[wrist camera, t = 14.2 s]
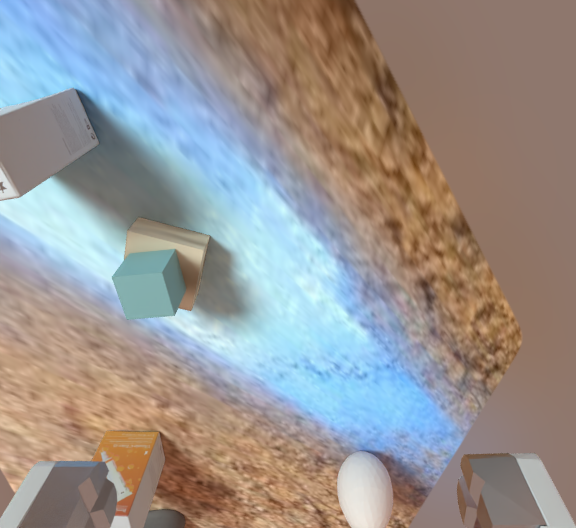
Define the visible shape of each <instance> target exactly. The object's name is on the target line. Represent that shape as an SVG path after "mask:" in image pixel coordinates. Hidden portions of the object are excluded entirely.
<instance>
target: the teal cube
mask: <svg viewBox="0 0 576 528" xmlns="http://www.w3.org/2000/svg"><path fill="white" fill-rule="evenodd" d="M112 279H113V282H114V285H115V288H116V291H117V293H118V296H119V299H120V302H121V305H122V307H123V310H124V313H125V316H126V319H127V320H129V319H141V318H153V317H165V316H175V314H176V312H177V310H178V307H179V305H180V303H181V301H182V298H183V296H184V294H185V292H186V286H185V282H184V278H183V275H182V271H181V267H180V264H179V260H178V256H177V253H176V249H169V250H158V251H148V252H138V253H130V254H129V255H128V256H127V258H126V259H125V260H124V261H123V263H122V264H121V265H120V267H119V268H118V269H117V271H116V272H115V273H114V275H113V276H112Z"/></svg>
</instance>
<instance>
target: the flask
mask: <svg viewBox="0 0 576 528" xmlns="http://www.w3.org/2000/svg"><path fill="white" fill-rule="evenodd" d="M184 526H185V518H184V516H183V515H182V514H180V513H179V512H177V511H174V510H165V509H162V510H154V511H149V512H148V515H147V518H146V521H145V524H144V527H143V528H184Z"/></svg>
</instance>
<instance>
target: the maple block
mask: <svg viewBox="0 0 576 528" xmlns="http://www.w3.org/2000/svg"><path fill="white" fill-rule="evenodd" d="M209 238H210V235H206V234H202V233H198V232H195V231H191V230H187V229H183V228H179V227H175V226H171V225H167V224H164V223H160V222H156V221H152V220H148V219H144V218H140V217H138V218H137V220H136V221H135V222H134V223H133V224H132V226H131V227H130V228H129V229H128V230H127V238H126V246H125V255H124V260H125V259H126V258H127V256H128V255H129V254H130V253H138V252H148V251H158V250H169V249H176V253H177V256H178V260H179V264H180V267H181V271H182V275H183V278H184V282H185V286H186V292H185V294H184V296H183V298H182V301H181V303H180V305H179V307H178V308H180V309H184V310H189V311H191V310H192V308H193V305H194V303H195V300H196V297H197V295H198V291H199V286H200V281H201V277H202V272H203V267H204V262H205V257H206V253H207V248H208V243H209Z"/></svg>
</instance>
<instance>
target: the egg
mask: <svg viewBox="0 0 576 528" xmlns="http://www.w3.org/2000/svg"><path fill="white" fill-rule="evenodd" d="M337 490H338V498H339V503H340V506H341V509H342V511H343V513H344V515H345V518H346V520H347V521H348V523H349V524H350V526H351V527H352V528H386V526H387V524H388V522H389V519H390V516H391V512H392V507H393V490H392V484H391V479H390V476H389V474H388V471H387V469H386V468H385V466H384V465H383V464H382V462H381V461H380V460H379V459H378V458H377V457H376V456H374V455H373V454H371V453H368V452H365V451H358V452H355V453H352V454H351V455H350V456H349V457H347V458H346V460H345V461H344V463H343V464H342V466H341V468H340V471H339V474H338V480H337Z"/></svg>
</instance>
